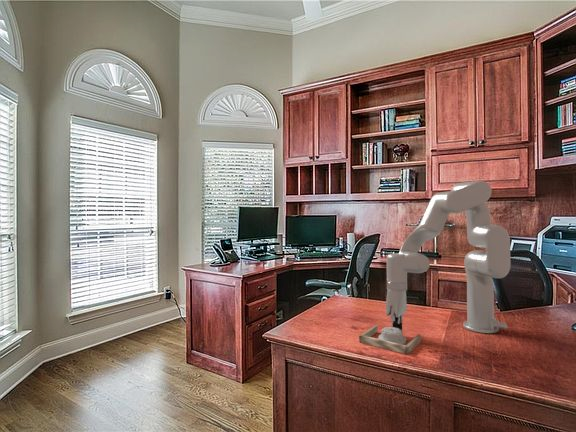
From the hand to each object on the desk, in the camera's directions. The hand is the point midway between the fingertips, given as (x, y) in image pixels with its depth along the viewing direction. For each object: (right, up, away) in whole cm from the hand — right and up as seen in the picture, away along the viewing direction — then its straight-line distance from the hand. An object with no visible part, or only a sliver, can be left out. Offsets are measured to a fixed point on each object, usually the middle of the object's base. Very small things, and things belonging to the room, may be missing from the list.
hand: (397, 332), depth 132 cm
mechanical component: (-3, -2, -5) cm, 6 cm away
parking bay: (-5, -1, -6) cm, 8 cm away
